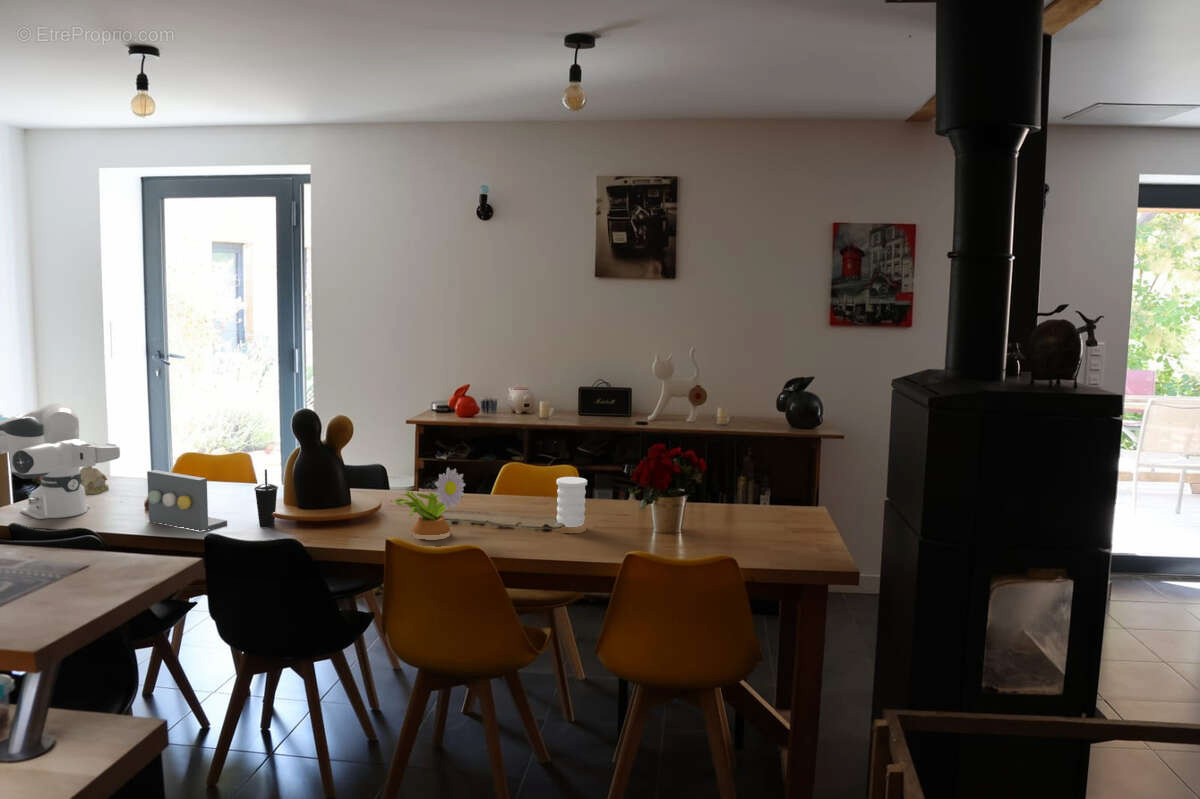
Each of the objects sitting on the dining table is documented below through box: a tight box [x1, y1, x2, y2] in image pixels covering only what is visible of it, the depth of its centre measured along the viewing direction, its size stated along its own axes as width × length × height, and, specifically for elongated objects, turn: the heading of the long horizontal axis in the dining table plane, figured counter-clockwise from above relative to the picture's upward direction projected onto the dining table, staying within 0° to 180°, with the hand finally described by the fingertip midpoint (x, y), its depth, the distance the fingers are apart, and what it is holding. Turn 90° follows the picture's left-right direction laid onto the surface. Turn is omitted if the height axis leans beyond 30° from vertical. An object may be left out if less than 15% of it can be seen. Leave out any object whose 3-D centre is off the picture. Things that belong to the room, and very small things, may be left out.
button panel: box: [146, 469, 228, 531], centre depth 303 cm, size 25×11×18 cm, turn 65°
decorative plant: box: [390, 467, 466, 535], centre depth 300 cm, size 27×24×25 cm
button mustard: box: [177, 495, 192, 509], centre depth 294 cm, size 4×2×4 cm, turn 66°
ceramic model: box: [80, 466, 110, 495], centre depth 345 cm, size 14×11×10 cm
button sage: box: [147, 490, 162, 504], centre depth 300 cm, size 4×2×4 cm, turn 65°
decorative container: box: [556, 476, 588, 527], centre depth 311 cm, size 12×12×18 cm
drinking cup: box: [253, 468, 279, 528], centre depth 303 cm, size 8×8×20 cm
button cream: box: [163, 493, 177, 507], centre depth 297 cm, size 4×2×4 cm, turn 66°
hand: (113, 446), depth 284 cm, fingers closed
